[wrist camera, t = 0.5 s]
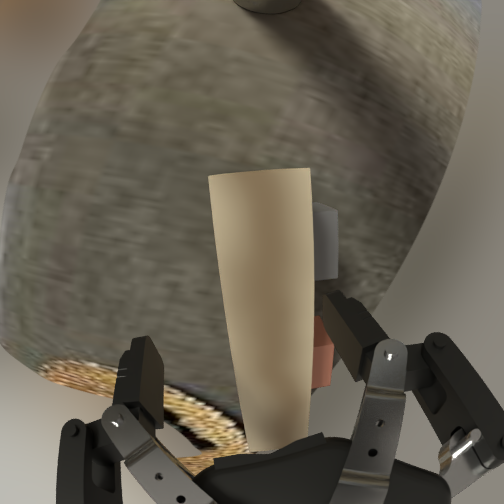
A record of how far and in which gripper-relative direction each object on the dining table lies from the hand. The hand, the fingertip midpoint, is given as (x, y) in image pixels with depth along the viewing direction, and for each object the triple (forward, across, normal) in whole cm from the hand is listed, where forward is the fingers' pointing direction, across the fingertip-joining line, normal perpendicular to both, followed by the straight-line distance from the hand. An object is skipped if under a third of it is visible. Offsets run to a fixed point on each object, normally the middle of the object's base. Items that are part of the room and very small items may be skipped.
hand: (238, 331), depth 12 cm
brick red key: (+10, -6, +13) cm, 17 cm away
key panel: (+18, -3, +8) cm, 20 cm away
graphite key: (+12, -7, +2) cm, 14 cm away
